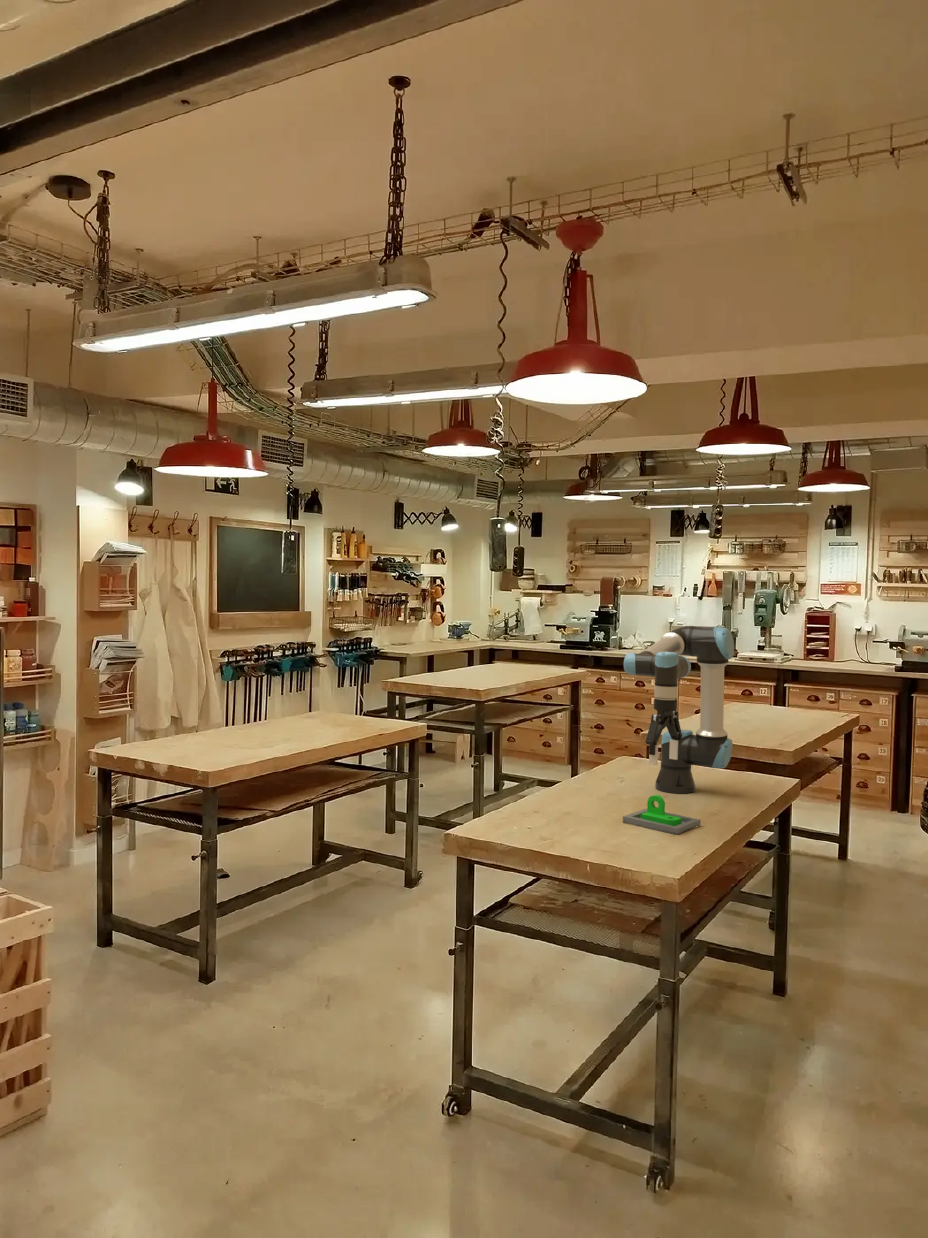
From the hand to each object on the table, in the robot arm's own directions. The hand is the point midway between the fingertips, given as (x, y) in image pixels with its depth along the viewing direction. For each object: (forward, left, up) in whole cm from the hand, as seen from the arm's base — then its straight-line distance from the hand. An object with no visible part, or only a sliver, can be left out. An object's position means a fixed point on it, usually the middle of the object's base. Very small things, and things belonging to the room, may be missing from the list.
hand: (663, 762), depth 292 cm
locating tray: (+1, +1, -21) cm, 21 cm away
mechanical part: (0, 0, -20) cm, 20 cm away
